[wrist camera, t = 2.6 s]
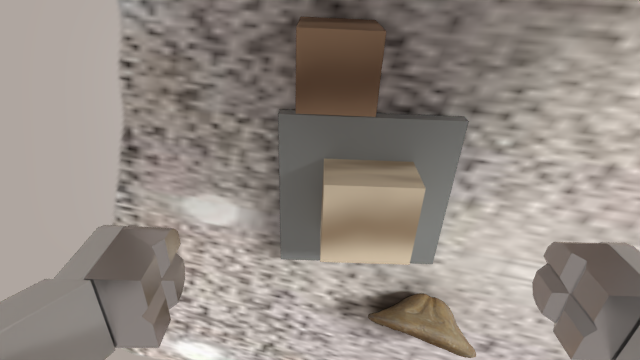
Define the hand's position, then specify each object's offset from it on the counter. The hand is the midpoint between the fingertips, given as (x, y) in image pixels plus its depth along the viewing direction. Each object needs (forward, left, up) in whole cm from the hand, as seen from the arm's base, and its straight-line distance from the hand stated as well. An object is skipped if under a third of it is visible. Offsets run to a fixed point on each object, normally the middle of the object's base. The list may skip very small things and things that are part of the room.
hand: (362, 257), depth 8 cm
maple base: (+11, +3, -20) cm, 23 cm away
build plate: (+11, +3, -21) cm, 24 cm away
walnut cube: (0, 0, -21) cm, 21 cm away
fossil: (+25, +10, -21) cm, 34 cm away
